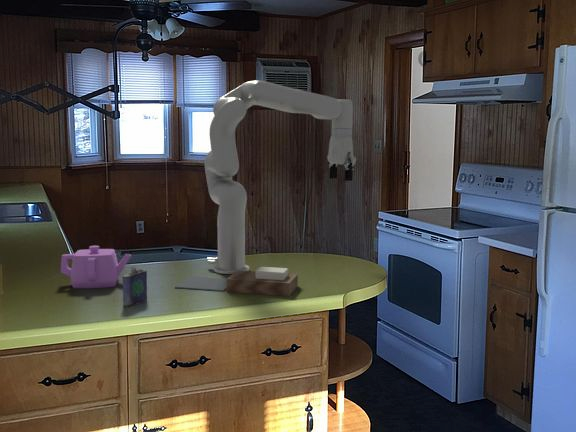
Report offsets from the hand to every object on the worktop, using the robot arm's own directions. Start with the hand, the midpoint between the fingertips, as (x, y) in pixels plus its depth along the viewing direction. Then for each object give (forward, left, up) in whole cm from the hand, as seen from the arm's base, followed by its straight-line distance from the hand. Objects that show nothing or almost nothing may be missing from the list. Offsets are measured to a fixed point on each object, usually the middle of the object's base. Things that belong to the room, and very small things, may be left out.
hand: (340, 179), depth 246 cm
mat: (-36, -47, -31) cm, 67 cm away
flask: (-49, -72, -31) cm, 92 cm away
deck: (-17, -48, -31) cm, 59 cm away
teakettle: (-71, -54, -31) cm, 94 cm away
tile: (-14, -48, -27) cm, 56 cm away
